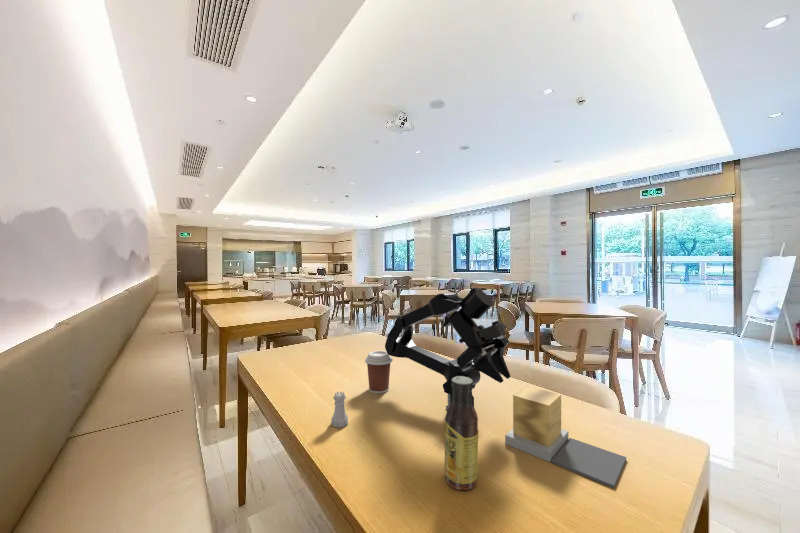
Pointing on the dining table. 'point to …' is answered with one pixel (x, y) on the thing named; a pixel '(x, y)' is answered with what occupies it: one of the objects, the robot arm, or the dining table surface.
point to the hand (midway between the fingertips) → (505, 379)
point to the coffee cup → (378, 371)
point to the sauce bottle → (461, 436)
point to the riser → (537, 445)
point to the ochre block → (537, 415)
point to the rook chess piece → (339, 411)
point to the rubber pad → (590, 462)
